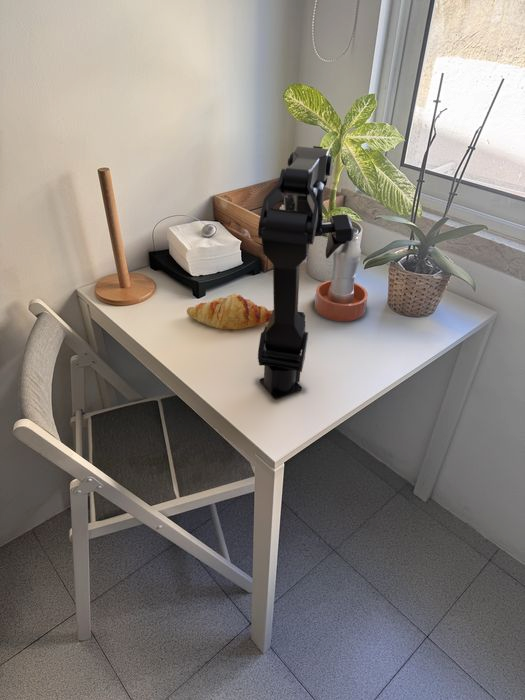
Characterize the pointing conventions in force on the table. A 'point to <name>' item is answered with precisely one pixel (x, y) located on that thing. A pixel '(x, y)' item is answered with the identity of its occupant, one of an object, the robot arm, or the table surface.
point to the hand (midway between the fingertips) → (306, 258)
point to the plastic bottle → (345, 271)
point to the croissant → (230, 313)
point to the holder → (340, 310)
